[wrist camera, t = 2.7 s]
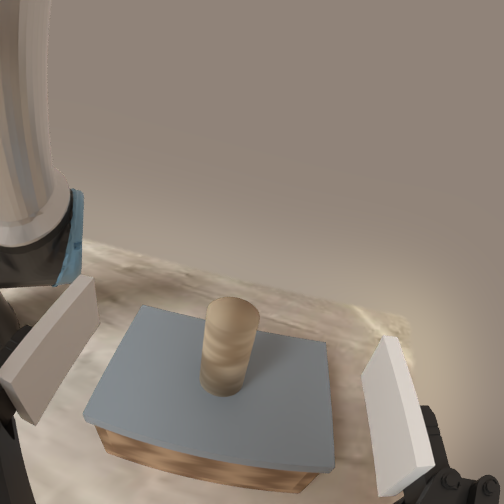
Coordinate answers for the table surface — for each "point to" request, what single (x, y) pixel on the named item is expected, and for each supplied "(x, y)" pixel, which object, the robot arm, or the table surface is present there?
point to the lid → (219, 389)
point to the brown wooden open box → (204, 466)
